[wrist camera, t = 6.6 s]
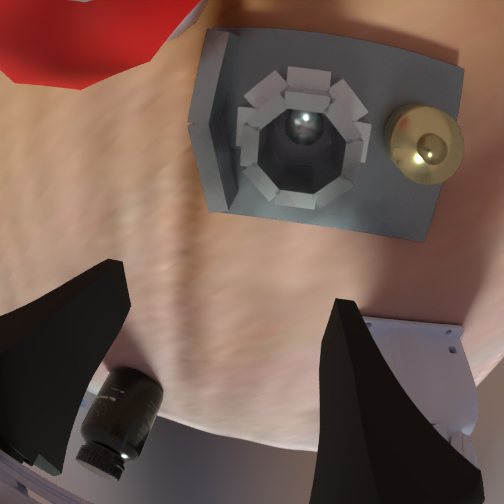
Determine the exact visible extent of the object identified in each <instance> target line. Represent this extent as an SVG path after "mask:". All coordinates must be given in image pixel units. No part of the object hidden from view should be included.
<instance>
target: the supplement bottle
mask: <svg viewBox="0 0 504 504" xmlns="http://www.w3.org/2000/svg"><path fill="white" fill-rule="evenodd" d="M162 400H163V393H162V391H161V389H160V387H159V386H158V385H157V384H156V383H155V382H154V381H153V380H152V379H150V378H149V377H147V376H146V375H144V374H142V373H140V372H138V371H136V370H133V369H130V368H125V367H119V368H115V369H113V370H112V371H111V372H110V373H109V375H108V377H107V378H106V380H105V382H104V384H103V385H102V387H101V389H100V391H99V393H98V395H97V396H96V398H95V400H94V402H93V404H92V406H91V408H90V409H89V411H88V413H87V415H86V417H85V419H84V421H83V423H82V425H81V428H80V432H81V436H82V438H83V439H84V441H85V445H81V447H80V451H79V452H78V455H77V457H76V461H77V462H78V463H79V464H81V465H82V466H84V467H85V468H87V469H88V470H90V471H92V472H93V473H95V474H97V475H99V476H102V477H104V478H106V479H109V480H112V481H116V482H117V481H119V479H120V477H121V474H122V472H123V471H124V469H125V467H124V466H123V465H124V463H129V462H133V461H135V460H137V459H138V458H139V456H140V454H141V452H142V449H143V447H144V444H145V442H146V440H147V437H148V435H149V432H150V430H151V428H152V425H153V423H154V420H155V418H156V416H157V413H158V411H159V408H160V406H161V403H162Z"/></svg>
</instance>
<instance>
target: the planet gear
mask: <svg viewBox="0 0 504 504" xmlns="http://www.w3.org/2000/svg"><path fill="white" fill-rule="evenodd" d="M330 80H331V72H329V71H322V70H315V69H307V68H299V67H290V66H288V72H287V78H286V77H285V76H284V75H283V73H282V72H281V71H280V70H275V71H273V72H272V73H271V74H269V75H268V76H267V77H266V78H264V79H263V80H262V81H261V82H260V83H258V84H257V85H256V86H255V87H253V88H252V89H251V90H250V91H249V92H247V93H246V94H245V95H244V97H245V98H246V99H247V100H248V101H249V102H246V103H244V104H242V105H240V106H239V107H238V114H237V134H236V146H241V156H240V157H241V162H240V166H245V168H244V170H243V171H242V172H243V173H244V174H245V175H246V176H247V177H248V178H249V179H250V180H251V182H252V183H253V184H254V185H255V186H256V187H257V188H258V189H259V191H260V192H261V193H262V194H263V195H264V196H265V197H266V199H267V200H268V201H270V200H272V199H273V198H274V197H275V204H276V205H284V206H291V207H298V208H305V209H312V210H314V209H315V203H316V204H317V205H318V206H319V207H320V208H322V207H323V206H325V205H326V204H328V203H329V202H331V201H332V200H334V199H335V198H337V197H338V196H340V195H341V194H343V193H344V192H346V191H347V190H349V189H350V188H352V187H353V184H352V181H357V178H358V172H359V167H360V162H362V163H365V160H366V155H367V149H368V143H369V137H370V131H371V125H372V124H371V123H370V122H369V121H367V120H366V119H365V118H363V117H362V116H364V115H365V114H367V113H368V111H367V109H366V108H365V107H364V105H363V104H362V103H361V101H360V100H359V99H358V97H357V96H356V95H355V93H354V92H353V91H352V89H351V88H350V87H349V86H348V84H347V83H346V82H345V80H344V79H343V78H337V79H336V80H335V81H333V82H332V83H330ZM286 109H295V110H303V111H311V112H318V113H324V114H325V115H326V116H327V117H328V119H329V120H330V121H331V122H332V124H333V125H334V128H333V135H332V142H330V143H329V144H328V145H326V146H325V147H323V148H322V149H321V150H319V151H318V152H316V153H315V154H314V155H307V154H300V153H292V152H288V151H287V149H286V148H285V147H284V146H283V145H282V144H281V142H280V141H279V140H278V139H277V138H276V137H275V135H274V134H273V131H274V119H275V118H276V117H277V116H278V115H280V114H281V113H282V112H284V111H285V110H286Z"/></svg>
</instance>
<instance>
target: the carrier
mask: <svg viewBox="0 0 504 504" xmlns="http://www.w3.org/2000/svg"><path fill="white" fill-rule="evenodd" d="M288 66H290V67H299V68H307V69H315V70H322V71H329V72H331V80H330V83H332V82H333V81H335V80H336V79H337V78H343V79H344V80H345V82H346V83H347V84H348V86H349V87H350V88H351V89H352V91H353V92H354V93H355V95H356V96H357V97H358V99H359V100H360V101H361V103H362V104H363V105H364V107H365V108H366V109H367V111H368V113H367V114H365V115H364V116H362V117H363V118H365V119H366V120H367V121H369V122H370V123H371V124H372V125H371V131H370V137H369V143H368V149H367V155H366V160H365V163H362V162H360V167H359V172H358V178H357V181H352V184H353V187H352V188H350V189H349V190H347V191H346V192H344V193H343V194H341V195H340V196H338V197H337V198H335V199H334V200H332V201H331V202H329V203H328V204H326V205H325V206H323V207H322V208H320V207H319V206H318V205H317V204H316V203H315V209H314V210H312V209H305V208H298V207H291V206H284V205H276V204H275V197H274V198H273V199H272V200H270V201H268V200H267V199H266V197H265V196H264V195H263V194H262V193H261V192H260V191H259V189H258V188H257V187H256V186H255V185H254V184H253V183H252V182H251V180H250V179H249V178H248V177H247V176H246V175H245V174H244V173H243V172H242V171H243V170H244V168H245V166H240V162H241V157H240V156H241V146H236V134H237V114H238V107H239V106H240V105H242V104H244V103H246V102H249V101H248V100H247V99H246V98H245V97H244V95H245V94H246V93H247V92H249V91H250V90H251V89H252V88H253V87H255V86H256V85H257V84H258V83H260V82H261V81H262V80H263V79H264V78H266V77H267V76H268V75H269V74H271V73H272V72H273V71H275V70H280V71H281V72H282V73H283V75H284V76H285V77H286V78H287V72H288ZM463 77H464V69H463V68H460V67H458V66H455V65H452V64H449V63H446V62H443V61H440V60H437V59H434V58H431V57H428V56H425V55H421V54H418V53H414V52H411V51H407V50H403V49H400V48H396V47H392V46H387V45H383V44H379V43H374V42H370V41H365V40H360V39H354V38H349V37H343V36H337V35H331V34H324V33H316V32H308V31H299V30H288V29H275V28H256V27H213V30H211V29H207V32H206V36H205V40H204V44H203V49H202V53H201V58H200V62H199V67H198V71H197V76H196V81H195V85H194V90H193V95H192V100H191V106H190V111H189V116H188V122H190V123H193V124H191V125H189V126H188V130H189V135H190V139H191V143H192V147H193V151H194V155H195V159H196V163H197V167H198V171H199V175H200V179H201V183H202V187H203V191H204V195H205V199H206V203H207V206H208V211H209V213H213V212H220V213H228V214H236V215H244V216H252V217H260V218H268V219H275V220H282V221H290V222H297V223H304V224H311V225H318V226H325V227H332V228H339V229H345V230H352V231H358V232H365V233H371V234H377V235H383V236H390V237H396V238H402V239H408V240H413V241H419V242H424V241H425V238H426V235H427V232H428V229H429V226H430V222H431V219H432V216H433V213H434V210H435V206H436V203H437V200H438V196H439V193H440V189H441V185H442V182H443V181H445V180H447V179H448V178H450V177H451V176H452V175H453V174H454V173H455V172H456V170H457V169H458V167H459V166H460V163H461V161H462V158H463V153H464V140H463V136H462V132H461V130H460V128H459V126H458V124H457V123H456V121H457V116H458V110H459V104H460V98H461V92H462V85H463ZM333 128H334V125H333V124H332V122H331V121H330V120H329V119H328V117H327V116H326V115H325V114H324V113H318V112H311V111H303V110H295V109H286V110H285V111H284V112H282V113H281V114H280V115H278V116H277V117H276V118H275V119H274V131H273V134H274V135H275V137H276V138H277V139H278V140H279V141H280V142H281V144H282V145H283V146H284V147H285V148H286V149H287V151H288V152H292V153H300V154H307V155H314V154H315V153H316V152H318V151H319V150H321V149H322V148H323V147H325V146H326V145H328V144H329V143H330V142H332V135H333Z"/></svg>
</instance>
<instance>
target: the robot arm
mask: <svg viewBox="0 0 504 504" xmlns="http://www.w3.org/2000/svg"><path fill="white" fill-rule="evenodd" d="M130 307H131V303H130V298H129V293H128V288H127V282H126V277H125V272H124V266H123V262H122V261H117V260H112V259H107V260H105V261H103V262H101V263H99V264H97V265H95V266H94V267H92V268H90V269H88V270H87V271H85V272H83V273H82V274H80V275H78V276H77V277H75V278H73V279H71V280H70V281H68V282H66V283H65V284H63V285H61V286H60V287H58V288H56V289H54V290H53V291H51V292H49V293H47V294H45V295H44V296H42V297H40V298H38V299H37V300H35V301H33V302H31V303H29V304H27V305H25V306H23V307H20V308H18V309H16V310H14V311H12V312H9V313H7V314H4V315H2V316H0V504H41V503H39V502H37V501H36V500H34V499H32V498H31V497H29V495H28V493H27V489H26V487H27V488H28V489H30V490H32V491H33V492H35V493H36V494H38V495H39V496H41V497H43V498H44V499H46V500H48V501H49V502H51V503H53V504H93V503H91V502H89V501H87V500H85V499H82V498H80V497H78V496H76V495H74V494H72V493H71V492H68V491H67V490H65V489H63V488H61V487H59V486H57V485H56V484H54V483H52V482H50V481H48V480H47V479H45V478H43V477H42V476H40V475H38V474H36V473H35V472H33V471H32V470H30V469H29V468H27V467H25V466H24V465H22V463H23V461H24V462H25V463H27V464H29V465H30V466H33V465H35V466H37V467H39V468H40V469H42V470H44V471H45V472H47V473H49V474H51V475H52V476H56V475H60V474H61V473H62V469H63V463H64V459H65V454H66V449H67V445H68V441H69V438H70V434H71V430H72V427H73V424H74V421H75V418H76V416H77V413H78V410H79V407H80V404H81V402H82V399H83V397H84V394H85V392H86V390H87V387H88V385H89V383H90V381H91V379H92V377H93V375H94V373H95V372H96V370H97V368H98V367H99V365H100V363H101V362H102V360H103V358H104V357H105V355H106V353H107V352H108V350H109V348H110V347H111V345H112V343H113V342H114V340H115V338H116V337H117V335H118V333H119V331H120V330H121V328H122V326H123V323H124V321H125V319H126V317H127V314H128V312H129V310H130ZM366 323H370V324H366ZM463 332H464V330H463V327H462V326H460V325H447V324H435V323H424V322H413V321H403V320H393V319H384V318H375V317H366V316H362V315H361V313H360V311H359V309H358V307H357V305H356V303H355V302H354V301H352V300H345V299H338V298H336V299H335V302H334V305H333V308H332V311H331V315H330V318H329V321H328V324H327V327H326V330H325V333H324V336H323V339H322V343H321V354H320V366H319V388H320V434H319V445H318V454H317V461H316V468H315V474H314V480H313V486H312V492H311V497H310V502H309V504H482V503H483V502H484V500H485V497H484V488H483V481H482V475H481V471H480V470H479V468H478V463H477V458H476V454H475V450H474V446H473V443H472V440H471V437H470V434H471V432H472V431H473V428H474V426H475V424H476V420H477V415H478V393H477V389H476V386H475V382H474V379H473V376H472V373H471V369H470V366H469V363H468V360H467V357H466V354H465V352H464V349H463V346H462V343H461V340H460V337H461V335H462V334H463Z"/></svg>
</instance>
